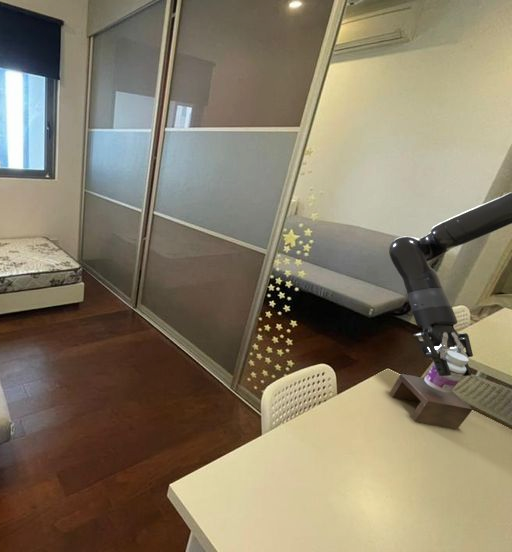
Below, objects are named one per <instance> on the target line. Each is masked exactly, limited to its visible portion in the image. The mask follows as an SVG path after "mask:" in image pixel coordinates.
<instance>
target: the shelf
mask: <svg viewBox="0 0 512 552" xmlns="http://www.w3.org/2000/svg"><path fill="white" fill-rule="evenodd" d="M424 378H425V377H420V376H416V375H409V374H403V373H400V375H399V376H398V377H397V379H396V381H395V383H394V384H393V386H392V388H391V389H390V391H389V395H390V396H391V397H393V398H397V399H401V400H407V401H413V402H418V403H419V404H418V405H417V407H416V408H415V410H414V411H413V412H412V414H411V415H410V419H411V420H412V421H413V423H414V422H415V423H420V424H425V425H430V426H436V427H441V428H445V429H451V430H456V431H457V430H458V429H459V428H460V427H461V426H462V424H463V423H464V422H465V420H466V419H467V418H468V417H469V415H470V414H471V413H472V411H473V410H474V409H473V408H472V407H471V406H470V405H469V404H468V403H466V402H465V401H464V400H463V399H462V398H461V397H460V396H459V395H458V394H456V393H455V391H453V390H452V391H451V392H441V391H439V390H436V389H434V388H432V387H431V386H429V385H428V384H427V383H426V382H425V380H424Z"/></svg>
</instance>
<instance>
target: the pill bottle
mask: <svg viewBox="0 0 512 552" xmlns="http://www.w3.org/2000/svg"><path fill="white" fill-rule="evenodd" d="M444 360H446V361H447V364H448V366H449V369H450V372H451V375H450V376H440V375H439V374H438V372H437V370H436V367H435V364H434V363H433V364H432V366H431V367H430V369H429V370H428V371H427V373H426V374H425V377H423V378H424V380H425V382H426V383H427V384H428V385H429V386H431V387H432V388H434V389H436V390H439V391H441V392H451V391H453V390H454V389H455V387H456V386H457V385H458V383H459V382H460V380H461V379H462V378H463V377H464V376H463V375H464V374H465V372H466V367H465V366H464V365H466V364H467V363H468V364H469V361H470V359H469V357H468V358H467V357H466V356H464V355H462V354H460V353H457V351H455V352H454V351H447V352H446V351H445V359H444Z"/></svg>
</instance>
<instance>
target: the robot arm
mask: <svg viewBox="0 0 512 552" xmlns="http://www.w3.org/2000/svg"><path fill="white" fill-rule="evenodd" d="M511 224H512V191H511V192H509V193H506V194H504V195H502V196H500V197H497V198H494V199H492V200H490V201H488V202H486V203H483V204H480V205H478V206H475V207H473V208H471V209H468V210H466V211H463V212H462V213H460V214H457V215H454V216H453V217H450V218H448V219H446V220H444V221H442V222H439V223H438V224H436V225H434V226H433V227H432V228H431V229H430V232H429V233H427V234H426V235H424V236H422V237H420V238H416V237H413V236H400V237H397V238H395V239H394V240H393V241H392V242H391V243H390V245H389V248H388V254H389V259H390V261H391V262H392V264H393V265H394V267H395V269H396V271H397V272H398V274H399V275H400V277H401V279H402V281H403V285H404V287H405V291H406V293H407V297H408V298H407V299H408V304H409V306H410V309H411V312H412V315H413V318H414V321H415V323H416V327H417V328H420V329H422V332H418V333H414V334H413V338H414V339H415V342H416V344H417V345H418V347H419V350H420V351H421V353H422V355H423V357H424V358H429V359H430V360H431V361H432V362H433V364H435V367H436V370H437V372H438V374H439V375H440V376H450V375H451V372H450V369H449V366H448V364H447V361H446V360H444V359H445V353H446V352H447V351H454V352H457V353H460V354H462V355H464V356H466V357H467V358H468V359H469V358H472V357H474V354H473V349H472V344H471V340H470V335H469V334H468V333H467V332H463V333H459V332H458V331H457V330H456V328H455V327H454V326H455V325H457V324H458V319H457V316H456V313H455V312H454V309H453V306H452V304H451V301H450V298H449V296H448V295H447V293H446V291H445V289H444V287H443V284H442V281H441V279H440V277H439V275H438V273H437V271H436V270H435V269H433V268H432V267H431V266H430V265H429V263H428V262H430V261H433V260H435V259H437V258H438V257H440V256H442V255H443V254H445V253H448V252H449V251H450V250H452V249H454V248H457V247H459V246H462V245H465V244H467V243H470V242H472V241H475V240H478V239H481V238H483V237H485V236H487V235H490V234H492V233H494V232H497V231H499V230H501V229H503V228H505V227H508V226H510V225H511ZM464 366H465V367H466V372H465V374H464V375H463V376H462V377H469V376H472V371H471V368H470V365H469V362H468V363H467V364H466V365H464Z"/></svg>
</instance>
